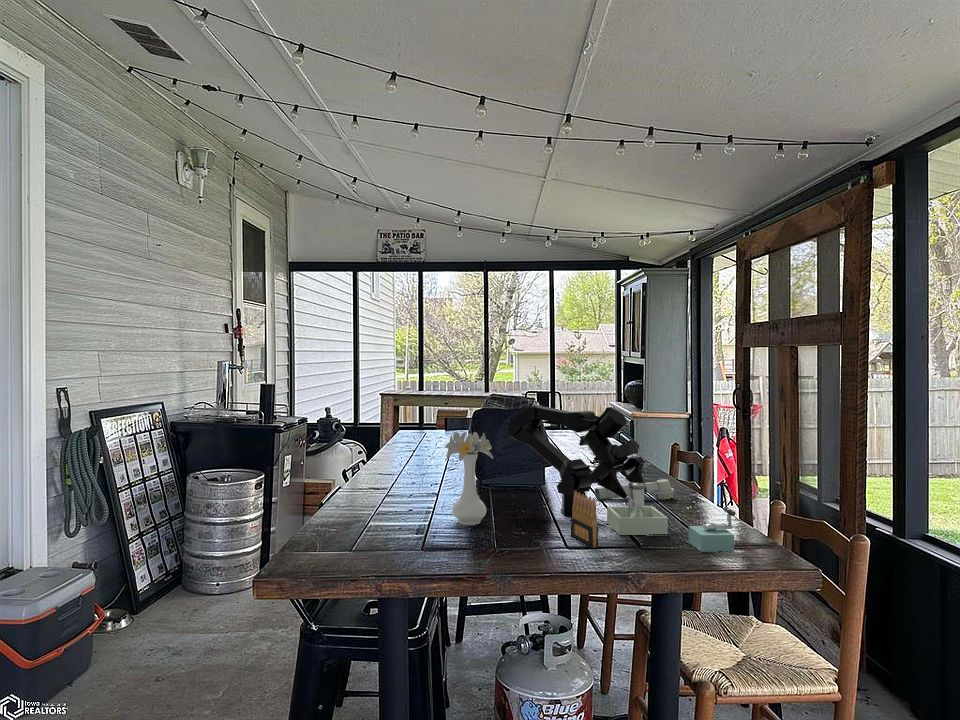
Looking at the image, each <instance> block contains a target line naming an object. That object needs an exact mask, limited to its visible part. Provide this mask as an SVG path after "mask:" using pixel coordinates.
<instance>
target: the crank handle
mask: <svg viewBox="0 0 960 720" xmlns="http://www.w3.org/2000/svg"><path fill="white" fill-rule="evenodd" d="M722 510H723V512H725V513H726V523H714V522H706V523H703V524H701V526H702V528H703V529H707V530H711V531H714V530H716V529H726V530H733V528H734V527H733V524H732V519H733V518H732V517H734V516H736V512H735V511H734V510H733V509H731V508H729V507H727V506H724V507H723V509H722Z"/></svg>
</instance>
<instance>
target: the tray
mask: <svg viewBox="0 0 960 720" xmlns="http://www.w3.org/2000/svg"><path fill="white" fill-rule="evenodd" d="M628 511H629V505H627V506H626V505H621V506H618V505H617V506H615V505H613V506H612V505H611V506H607V507H606V523H607V522H608V523H607V525H608V526H609V527H610V526H611V527H612V528H613V529H614V530H615V531H616V532H617V533H618V534H619V535H646V536H653V535H652V534H662V535H661V536H664V535H663V534H668V526H669V524H668V523H669V522H668V521H669V519H668V517H667V516H666V515H665V514H664V513H662V512H661V511H659V510H658V509H657V508H655V507H654V506H653V505H644V517H628ZM612 528H611V529H612ZM613 529H612V530H613ZM614 530H613V531H614ZM615 531H614V532H615ZM616 532H615V533H616ZM617 533H616V534H617ZM618 534H617V535H618ZM649 534H651V535H649ZM619 535H618V536H619ZM668 535H669V534H668Z"/></svg>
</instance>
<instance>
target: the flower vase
mask: <svg viewBox="0 0 960 720" xmlns="http://www.w3.org/2000/svg"><path fill="white" fill-rule="evenodd" d="M486 438H487V437H486V434H485V432H483V433H482V435H481V436H479V434H478V433H477V432H476V431H474V432H472V433H468V434H467V431H464V432H462V433H461V435H459V433H458V431H454V432H453V434H450V438H449V442H448V443H447V444H445V446H444V447H445V448H446V449H447V453H446V458H445V462H447V460H448V459H449V458H450V457H451V456H452V455H453V454H458V457H457V458H458V461H459V462H460V461H463V469H464V470H463V471H464V472H463V474H464V475H463V486H462V487H463V488H462V492H461V494H460V497H459V499H457V501H456V502H455V503H454V504H453V506H452V515H453V516H454V518H455V519H456V520H457V523H458V524H459V525H462V526H476V524H477V525H479V524H480V523H481V521H482V519H483V518H485V516H486V514H487V507H486V505H485V503H484V502H483V501H482V500H481V498H480V497H479V494H478V491H477V487H476V462H477V459H478V456H479V455H478V454H479V452H481V453H484V454H485V455H487V456H488V457H490V459H492V460H493V459H494V457H493V454H492V452H491V451H489V450H492V444H491V443H490V440H489V439H486Z"/></svg>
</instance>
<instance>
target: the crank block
mask: <svg viewBox="0 0 960 720" xmlns="http://www.w3.org/2000/svg"><path fill="white" fill-rule="evenodd" d="M689 542H690V543H691V544H692V545H691V544H690V543H689ZM688 543H689V544H690V545H691V546H693V547H694V548H695V547H696V548H697V550H698V551H699V552H700V551H701V553H720V552H719V551H722V552H721V553H727V552H726V551H734V552H735V534H733V533H732V532H730V531H729V529H716V530H714V531H711V530H707V529H703V528H702V525H688ZM696 548H695V549H696Z"/></svg>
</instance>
